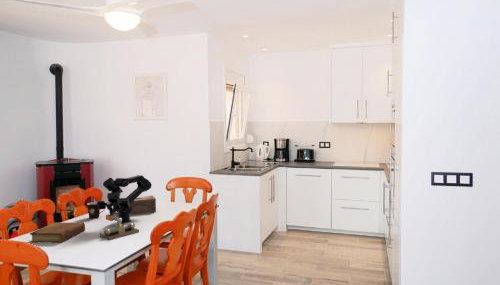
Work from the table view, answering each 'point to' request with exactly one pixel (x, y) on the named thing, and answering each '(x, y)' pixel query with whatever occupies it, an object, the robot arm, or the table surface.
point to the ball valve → (119, 231)
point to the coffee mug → (93, 210)
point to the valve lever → (111, 218)
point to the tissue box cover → (143, 205)
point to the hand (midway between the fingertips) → (110, 216)
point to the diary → (57, 232)
